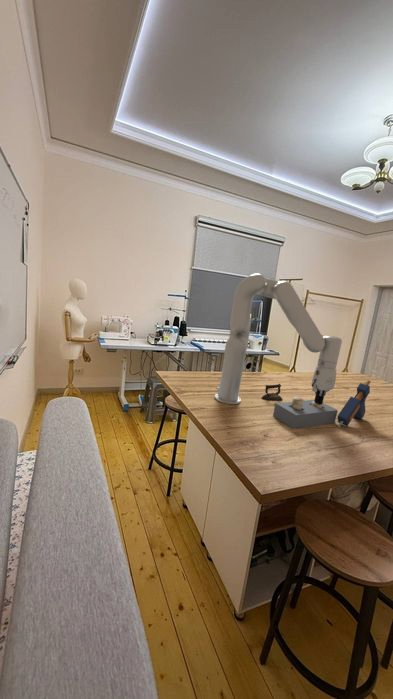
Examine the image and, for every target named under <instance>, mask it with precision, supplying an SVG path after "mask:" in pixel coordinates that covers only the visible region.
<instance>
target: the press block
mask: <svg viewBox="0 0 393 699" xmlns="http://www.w3.org/2000/svg"><path fill="white" fill-rule="evenodd" d="M314 400H315V399H310V400H309V399H307V400H306V399H305V400H304V402H303V406H302V410H298V411H296V410H295V409H293V408H291V405H292V401H284V402H276V403H275V404H274V409H273V413H272V417H274V418H276V419H277V420H279V421H280V422H281V423H283V424H285V425H286V426H288V427H290V428H291V429H293V430H295V429H300V428H308V427H313V426H321V425H327V424H333V423H336V418H337V416H338V411H339V410H338V409H337V408H334V407H332V406H330V405H329V404H327V403H324V402H323V406H322V408H316V407H314V406H312V402H313V401H314Z"/></svg>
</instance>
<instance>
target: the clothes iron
mask: <svg viewBox="0 0 393 699" xmlns="http://www.w3.org/2000/svg"><path fill="white" fill-rule="evenodd" d="M281 387H282V385H281V383H278V384H269V385H268V384H266V385H265V394H264V395H263V396H262V397H261V399H262V400H265V401H275V402H277V401H278V402H279V401H281V402H282V401H284V399H283V398H282V396H280V393H281ZM270 389H277V392H270V393H269V392H268V390H270Z"/></svg>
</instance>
